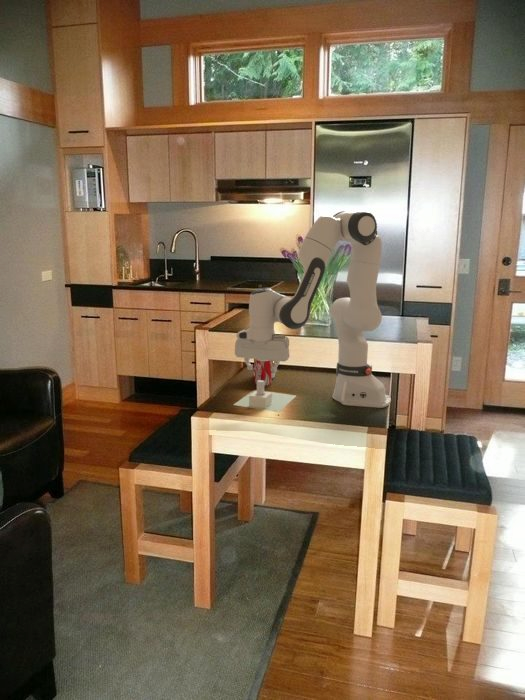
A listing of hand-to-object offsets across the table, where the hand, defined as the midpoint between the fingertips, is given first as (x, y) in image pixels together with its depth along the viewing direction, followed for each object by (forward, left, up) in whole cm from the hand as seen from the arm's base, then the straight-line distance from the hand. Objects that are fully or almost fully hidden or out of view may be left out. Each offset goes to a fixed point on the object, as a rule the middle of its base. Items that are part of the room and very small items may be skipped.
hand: (262, 370), depth 201 cm
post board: (0, -5, -14) cm, 15 cm away
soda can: (+9, -25, -15) cm, 31 cm away
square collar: (0, 0, -13) cm, 13 cm away
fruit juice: (+14, -39, -15) cm, 44 cm away
